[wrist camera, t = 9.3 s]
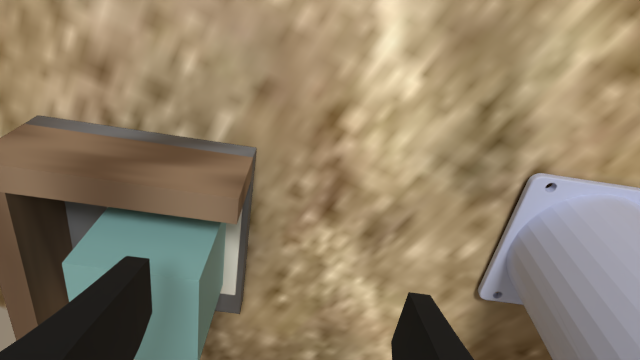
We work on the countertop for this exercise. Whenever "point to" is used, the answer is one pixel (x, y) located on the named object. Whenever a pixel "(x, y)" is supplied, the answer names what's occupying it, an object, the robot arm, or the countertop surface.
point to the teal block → (158, 273)
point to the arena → (108, 201)
